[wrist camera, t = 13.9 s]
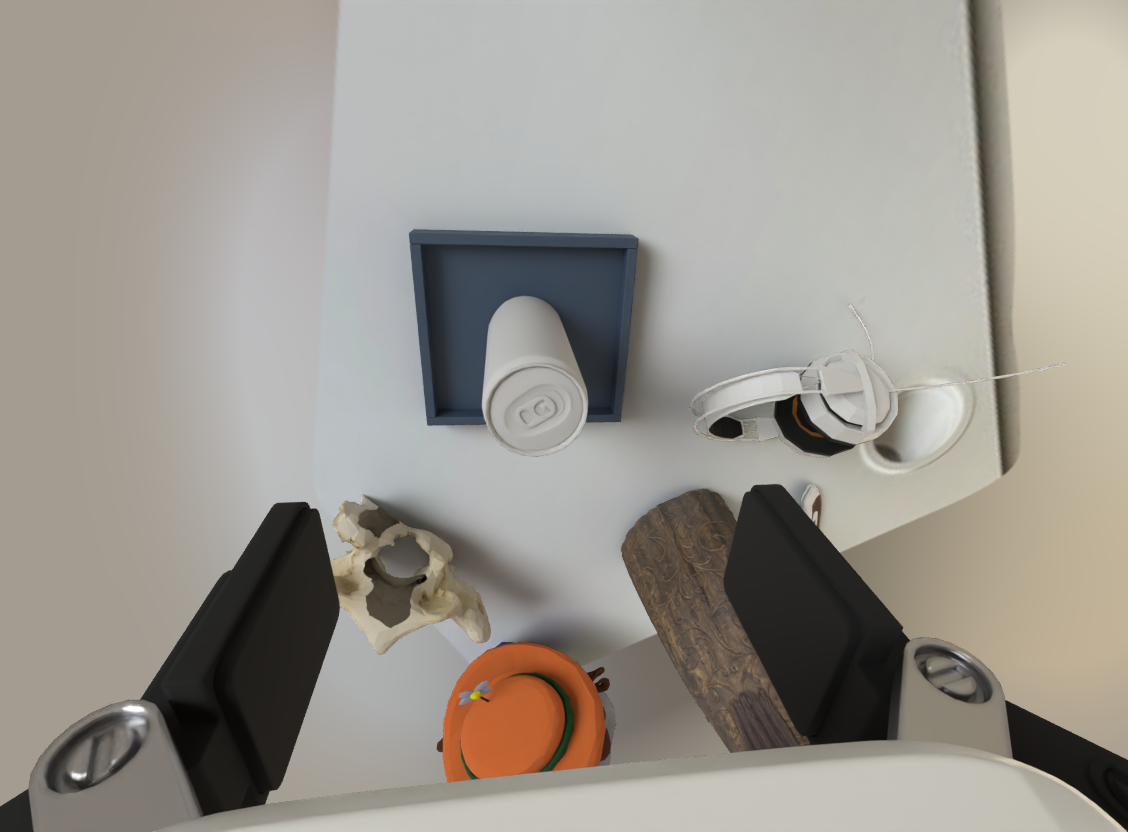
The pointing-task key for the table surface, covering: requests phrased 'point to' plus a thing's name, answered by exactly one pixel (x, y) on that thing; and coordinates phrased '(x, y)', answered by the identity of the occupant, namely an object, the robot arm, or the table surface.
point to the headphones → (811, 403)
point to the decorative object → (399, 581)
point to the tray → (512, 269)
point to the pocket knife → (812, 503)
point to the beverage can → (532, 380)
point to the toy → (525, 715)
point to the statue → (705, 619)
